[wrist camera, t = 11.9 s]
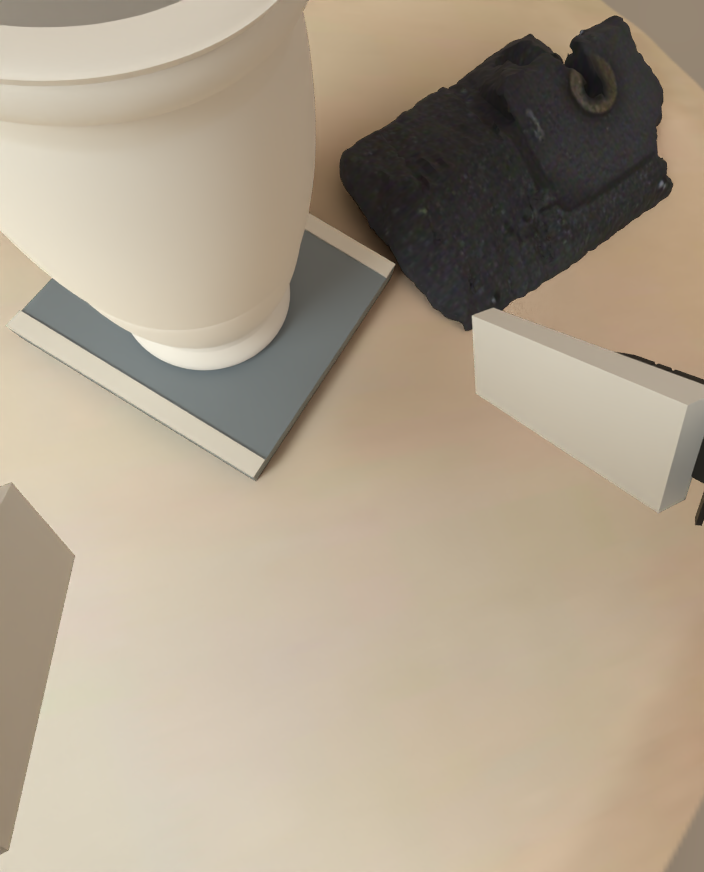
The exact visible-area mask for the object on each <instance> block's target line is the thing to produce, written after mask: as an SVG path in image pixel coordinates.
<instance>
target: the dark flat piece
mask: <svg viewBox="0 0 704 872" xmlns="http://www.w3.org/2000/svg"><path fill="white" fill-rule="evenodd" d="M570 48H571V49H572V51H573V53H572V54H570V55H568V56H567V58H566V61H565V65H564V64H563V61H562V58H561V57H560V56H559V55H558V54H556V53H553V51H552V50H551V49H550V48H549V47H548V46H546V45H545V44H544V43H542V42H541V41H540V40H538V39H536V38H535V37H534V36H533V35H532V34H529V35H527V36H525V37H524V38H522V39H518V40H515V41H512V42H510V43H509V44H507V45H506V46H505V47H504V48H502V49H501V50H500V51H498V52H496V53H494V54H493V55H492V56H490V57H489V58H487V59H486V60H485V61H484V62H483V63H482V64H480V65H479V66H477V67H476V68H475V69H474V70H472V71H471V72H470V73H468V74H467V75H466V76H465V77H464V78H462V79H461V80H459V81H458V82H457V84H456V85H453V86H451V87H449V89H447V88H444V87H442V88H440V89H439V90H438V91H437V92H435V93H432V94H430V95H428V96H427V97H425V98H424V99H422V100H421V101H419V102H418V103H417V104H416V105H415V106H414V107H413V108H412V109H410V110H408V111H405V112H403V113H402V114H401V115H400V116H398V117H397V119H396V120H394V121H393V122H391V123H390V124H389V125H387V126H385V127H383V128H382V129H380V130H377V131H375V132H373V133H372V134H370V135H368V136H366V137H364V138H362V139H361V140H359V141H358V142H356V143H355V144H354V145H353V146H352V147H351V148H349V149H347V150H345V151H344V152H343V153H342V156H341V159H340V178H341V180H342V182H343V185H344V187H345V188H346V190H347V191H348V192H349V194H350V195H351V196H352V197H353V199H354V200H355V201H356V203H357V204H358V206H359V208H360V209H361V211H362V212H363V213H364V215H365V216H366V218H367V220H368V223H369V226H370V228H372V229H374V230H375V232H376V234H377V235H378V237H380V238H381V239H382V240H383V241H384V242H385V244H386V245H387V246H390V249H391V251H392V252H393V254H394V256H395V258H396V260H397V262H398V264H399V266H400V268H401V269H402V271H403V273H404V274H405V275H406V276H407V277H408V278H409V279H410V280H411V281H413V282H414V283H415V285H416V287H417V288H418V289H419V290H420V291H421V292H422V293H423V294H425V295H426V296H427V299H428V301H429V302H430V303H431V305H432V306H433V308H434V309H437V310H439V311H441V312H442V314H443V315H444V316H445V317H447V318H449V319H452V320H455V321H459V322H461V323H462V324H463V326H464V329H465V331H467V330H471V329H473V328H472V315H474V314H477V313H480V312H483V311H485V310H488V309H491V308H496V309H498V310H501V311H502V310H503V309H504V308H505V307H507V306H508V305H509V303H510V302H511V301H513V300H515V299H517V298H521V297H524V296H525V295H526V294H527V293H528V292H530V291H533V290H535V289H537V288H538V287H539V286H540V285H541V284H542V283H543V282H545V281H547V280H549V279H551V278H553V277H554V276H556V275H557V274H559V273H560V272H562V271H564V270H566V269H568V268H569V267H570V266H571V265H572V264H573V263H576V262H578V261H579V260H580V259H581V258H582V257H583V256H585V255H586V253H587V252H588V251H591V250H594V249H596V247H597V246H598V245H600V244H601V243H603V242H604V241H606V240H608V239H609V238H610V237H611V236H613V235H614V234H615V233H616V232H617V231H619V230H621V229H622V228H624V227H625V226H626V225H628V224H629V223H630V222H631V221H632V220H634V219H636V218H637V217H639V216H640V215H641V214H642V213H644V212H645V211H648V210H649V209H651V208H653V207H655V206H656V205H657V204H658V203H659V202H660V201H661V200H663V199H665V198H666V197H667V196H669V194H670V192H671V190H672V187H673V183H672V181H671V179H670V178H669V177H668V176H667V175H666V174H667V163H666V161H664V160H663V158H660V157H659V156H658V154H657V141H656V140H657V129H656V126H658V125H659V123H660V121H661V119H662V110H661V106H662V104H663V89H662V87H661V85H660V83H659V80H658V79H657V77H656V76H655V75H654V74H653V72H652V69H651V68H650V67H649V66H648V65H647V64H646V63H645V61H644V59H643V57H642V55H641V54H640V53H638V52H637V49H636V45H635V43H634V41H633V39H632V36H631V32H630V28H629V26H628V24H627V23H625V22H623V18H621V17H619V16H612V17H610V18H608V19H606V20H605V21H603V22H602V23H600V24H598V25H595V26H593V27H591V28H589V29H586V30H581V31H580V34H579V35H578V36H576V37H574V38H573V39H572V41H571V43H570ZM568 54H569V53H568Z"/></svg>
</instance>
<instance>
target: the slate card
mask: <svg viewBox="0 0 704 872" xmlns="http://www.w3.org/2000/svg"><path fill="white" fill-rule="evenodd" d="M394 267H395V263H393V262H391V261H390V260H388V259H386V258H385V257H383V256H381V255H379V254H378V253H376V252H374V251H373V250H371V249H369V248H368V247H366V246H364V245H362V244H361V243H359V242H357V241H356V240H354V239H352V238H351V237H349V236H347V235H346V234H344V233H342V232H340V231H339V230H337V229H335V228H334V227H332V226H330V225H329V224H327V223H325V222H324V221H322V220H320V219H318V218H317V217H315V216H313V215H312V214H310V213H308V217H307V222H306V226H305V230H304V234H303V237H302V241H301V244H300V249H299V254H298V259H297V263H296V266H295V270H294V273H293V276H292V278H291V281H290V283H289V284H290V302H289V308H288V312H287V315H286V318H285V321H284V323H283V325H282V327H281V329H280V330H279V332H278V333H277V335H276V336H275V337H274V339H273V340H272V341H271V342H270V343H269V344H268V345H267V346H266V347H265V348H264V349H263V350H261V351H260V352H259V353H258V354H256V355H255V356H253V357H251V358H250V359H248V360H246V361H244V362H242V363H239V364H237V365H234V366H230V367H227V368H222V369H216V370H192V369H186V368H181V367H178V366H174V365H171V364H169V363H167V362H164V361H162V360H161V359H159V358H157V357H155V356H154V355H152V354H151V353H150V352H148V351H147V350H146V349H145V348H144V347H143V346H142V345H141V344H140V343H139V342H138V341H137V340H136V339H135V337H134V336H133V335H132V333H131V332H129V331H127V330H125V329H123V328H122V327H120V326H118V325H117V324H115V323H114V322H112V321H111V320H109V319H108V318H106V317H105V316H104V315H102V314H101V313H100V312H98V311H97V310H96V309H94V308H93V307H92V306H91V305H90V304H89V303H87V302H86V301H84V300H83V299H81V298H79V297H78V296H76V295H75V294H73V293H72V292H71V291H69V290H68V289H66V288H65V287H64V286H62V285H61V284H59V283H58V282H57V281H56V280H54V279H53V278H52V279H51V280H50V281H49V282H48V283H47V284H46V285H45V286H44V287H43V289H42V290H41V291H40V292H39V293H38V294H37V295H36V296H35V297H34V298H33V299H32V300H31V301H30V302H29V303H28V304H27V305H26V306H25V308H24V309H23V310H22V311H20V310H19V311H18V313H17V314H16V315H15V316H14V317H13V318H12V319H11V320H10V321H9V322H8V323H7V324H6V325H5V326H6V327H8V328H9V329H10V330H12V331H13V332H14V333H16V334H17V335H18V336H20V337H21V338H23V339H24V340H26V341H28V342H29V343H31V344H32V345H34V346H36V347H37V348H39V349H41V350H42V351H44V352H46V353H47V354H49V355H50V356H52V357H54V358H55V359H57V360H59V361H60V362H62V363H64V364H65V365H67V366H68V367H70V368H72V369H73V370H75V371H77V372H78V373H80V374H81V375H83V376H85V377H86V378H88V379H90V380H91V381H93V382H95V383H96V384H98V385H99V386H101V387H103V388H104V389H106V390H108V391H109V392H111V393H113V394H114V395H116V396H117V397H119V398H121V399H122V400H124V401H126V402H127V403H129V404H131V405H132V406H134V407H135V408H137V409H139V410H140V411H142V412H144V413H145V414H147V415H148V416H150V417H152V418H153V419H155V420H157V421H158V422H160V423H162V424H163V425H165V426H166V427H168V428H170V429H171V430H173V431H175V432H176V433H178V434H180V435H181V436H183V437H184V438H186V439H188V440H189V441H191V442H193V443H194V444H196V445H198V446H199V447H201V448H202V449H204V450H206V451H207V452H209V453H211V454H212V455H214V456H215V457H217V458H219V459H220V460H222V461H224V462H225V463H227V464H229V465H230V466H232V467H233V468H235V469H237V470H238V471H240V472H242V473H243V474H245V475H247V476H248V477H250V478H251V479H253V480H255V481H256V480H257V479H258V477H259V476H260V474H261V473H262V471H263V470H264V468H265V467H266V465H267V464H268V462H269V461H270V459H271V458H272V456H273V455H274V453H275V452H276V450H277V449H278V447H279V446H280V444H281V443H282V441H283V439H284V438H285V436H286V435H287V433H288V432H289V430H290V429H291V427H292V426H293V424H294V423H295V421H296V420H297V418H298V417H299V415H300V414H301V412H302V411H303V409H304V408H305V406H306V405H307V403H308V402H309V400H310V399H311V397H312V396H313V394H314V393H315V391H316V390H317V388H318V387H319V385H320V384H321V382H322V381H323V379H324V378H325V376H326V375H327V373H328V372H329V370H330V369H331V367H332V366H333V364H334V363H335V361H336V360H337V358H338V357H339V355H340V354H341V352H342V351H343V349H344V348H345V346H346V344H347V343H348V341H349V340H350V338H351V337H352V335H353V334H354V332H355V331H356V329H357V328H358V326H359V325H360V323H361V322H362V320H363V319H364V317H365V316H366V314H367V313H368V311H369V310H370V308H371V307H372V305H373V304H374V302H375V301H376V299H377V298H378V296H379V295H380V293H381V292H382V290H383V289H384V287H385V286H386V284H387V283H388V281H389V280H390V278H391V276H392V273H393V270H394Z"/></svg>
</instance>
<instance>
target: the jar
mask: <svg viewBox="0 0 704 872" xmlns="http://www.w3.org/2000/svg"><path fill="white" fill-rule="evenodd" d="M307 2H308V0H0V231H1V232H2V233H3V234H4V235H5V236H6V237H7V238H8V239H9V240H10V241H11V242H12V243H13V244H14V245H15V246H16V247H17V248H18V249H19V250H20V251H22V252H23V253H24V254H25V255H26V256H27V257H28V258H29V259H30V260H31V261H33V262H34V263H35V264H36V265H37V266H38V267H39V268H41V269H42V270H43V271H44V272H45V273H47V274H48V275H49V276H50V277H52V278H53V279H54V280H56V281H57V282H58V283H59V284H61V285H62V286H64V287H65V288H66V289H68V290H69V291H71V292H72V293H73V294H75V295H76V296H78V297H79V298H81V299H83V300H84V301H86V302H87V303H89V304H90V305H91V306H92V307H93V308H94V309H96V310H97V311H98V312H100V313H101V314H102V315H104V316H105V317H106V318H108V319H109V320H111V321H112V322H114V323H115V324H117V325H118V326H120V327H122V328H123V329H125V330H127V331H129V332H131V333H132V335H133V336H134V337H135V339H136V340H137V341H138V342H139V343H140V344H141V345H142V346H143V347H144V348H145V349H146V350H147V351H148V352H150V353H151V354H152V355H154V356H155V357H157V358H159V359H161V360H162V361H164V362H167V363H169V364H171V365H174V366H178V367H181V368H186V369H192V370H216V369H222V368H227V367H230V366H234V365H237V364H239V363H242V362H244V361H246V360H248V359H250V358H251V357H253V356H255V355H256V354H258V353H259V352H260V351H261V350H263V349H264V348H265V347H266V346H267V345H268V344H269V343H270V342H271V341H272V340H273V339H274V337H275V336H276V335H277V333H278V332H279V330H280V329H281V327H282V325H283V323H284V321H285V318H286V315H287V312H288V308H289V302H290V284H289V283H290V281H291V278H292V276H293V273H294V270H295V266H296V263H297V259H298V254H299V249H300V244H301V241H302V237H303V234H304V230H305V226H306V222H307V217H308V213H309V207H310V202H311V196H312V189H313V181H314V171H315V155H316V115H315V97H314V84H313V73H312V64H311V56H310V48H309V41H308V35H307V29H306V24H305V19H304V14H303V10H304V8H305V6H306V4H307Z"/></svg>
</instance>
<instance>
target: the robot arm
mask: <svg viewBox="0 0 704 872" xmlns="http://www.w3.org/2000/svg"><path fill="white" fill-rule="evenodd" d="M472 328H473V348H474V368H475V388H476V394H477V395H479V396H480V397H482V398H483V399H485V400H487V401H488V402H490V403H491V404H493V405H494V406H496V407H497V408H499V409H500V410H502V411H503V412H505V413H506V414H508V415H509V416H511V417H512V418H514V419H515V420H517V421H518V422H520V423H522V424H523V425H525V426H526V427H528V428H529V429H531V430H532V431H534V432H535V433H537V434H538V435H540V436H541V437H543V438H544V439H546V440H547V441H549V442H550V443H552V444H554V445H555V446H557V447H558V448H560V449H561V450H563V451H564V452H566V453H567V454H569V455H570V456H572V457H573V458H575V459H576V460H578V461H579V462H581V463H582V464H584V465H585V466H587V467H589V468H590V469H592V470H593V471H595V472H596V473H598V474H599V475H601V476H602V477H604V478H605V479H607V480H608V481H610V482H611V483H613V484H614V485H616V486H617V487H619V488H620V489H622V490H624V491H625V492H627V493H628V494H630V495H631V496H633V497H634V498H636V499H637V500H639V501H640V502H642V503H643V504H645V505H646V506H648V507H649V508H651V509H652V510H654V511H656V512H657V513H660V512H662V511H664V510H666V509H668V508H669V507H671V506H673V505H675V504H677V503H679V502H681V501H683V500H685V499H686V495H687V492H688V489H689V486H690V483H691V479H692V477H693V478H695V479H696V480H698V481H700V482H702V483H704V380H703V379H700V378H698V377H695V376H692V375H689V374H686V373H684V372H681V371H678V370H674V371H673V370H672V369H671V368H670V367H667V366H664V365H661V364H657V365H656V364H655V362H653V361H650V360H647V359H644V358H642V357H639V356H636V355H632V354H625V353H619V352H613V351H610V350H608V349H605V348H602V347H599V346H597V345H594V344H591V343H588V342H586V341H583V340H580V339H577V338H575V337H572V336H569V335H567V334H564V333H561V332H558V331H556V330H553V329H550V328H547V327H545V326H542V325H539V324H537V323H534V322H531V321H528V320H526V319H523V318H520V317H517V316H515V315H512V314H509V313H507V312H504V311H501V310H498V309H496V308H491V309H488V310H485V311H483V312H480V313H477V314H474V315H472ZM703 521H704V493H703V496H702V499H701V502H700V505H699V508H698V511H697V513H696V516H695V525H701V526H702V523H703ZM74 558H75V555H74V554H73V553H72V552H71V551H70V549H69V548H68V547H67V546H66V545H65V544H64V542H63V541H62V540H61V539H60V538H59V537H58V535H57V534H56V533H55V532H54V531H53V530H52V529H51V527H50V526H49V525H48V524H47V523H46V522H45V520H44V519H43V518H42V517H41V516H40V515H39V513H38V512H37V511H36V510H35V509H34V508H33V506H32V505H31V504H30V503H29V502H28V501H27V500H26V498H25V497H24V496H23V495H22V494H21V493H20V491H19V490H18V489H17V488H16V487H15V486H14V484H13V483H12V482H11V483H9V484H6V485H3V486H0V854H2V853H4V852H6V851H8V850H9V847H10V843H11V838H12V834H13V829H14V825H15V820H16V816H17V812H18V807H19V803H20V798H21V794H22V789H23V785H24V780H25V776H26V772H27V767H28V763H29V758H30V754H31V749H32V745H33V740H34V736H35V731H36V727H37V723H38V718H39V714H40V709H41V705H42V700H43V696H44V691H45V687H46V683H47V678H48V674H49V669H50V665H51V660H52V656H53V651H54V647H55V642H56V638H57V634H58V629H59V625H60V620H61V616H62V611H63V607H64V602H65V598H66V594H67V589H68V585H69V580H70V576H71V571H72V567H73V562H74Z"/></svg>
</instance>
